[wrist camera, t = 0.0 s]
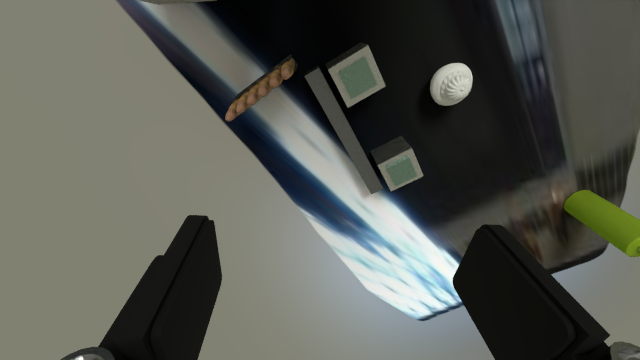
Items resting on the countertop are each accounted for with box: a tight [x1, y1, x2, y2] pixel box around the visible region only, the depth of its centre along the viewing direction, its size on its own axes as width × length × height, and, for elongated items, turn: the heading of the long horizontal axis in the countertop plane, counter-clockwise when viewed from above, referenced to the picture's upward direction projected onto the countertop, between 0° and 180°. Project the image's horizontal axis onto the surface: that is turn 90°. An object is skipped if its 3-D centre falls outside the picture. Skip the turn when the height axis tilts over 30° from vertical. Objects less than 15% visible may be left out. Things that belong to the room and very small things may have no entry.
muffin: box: [430, 63, 473, 106], centre depth 40 cm, size 6×6×7 cm
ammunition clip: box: [226, 54, 298, 121], centre depth 37 cm, size 11×2×12 cm, turn 124°
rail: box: [304, 42, 423, 194], centre depth 44 cm, size 24×9×6 cm, turn 30°
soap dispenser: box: [564, 190, 640, 257], centre depth 49 cm, size 6×7×20 cm
